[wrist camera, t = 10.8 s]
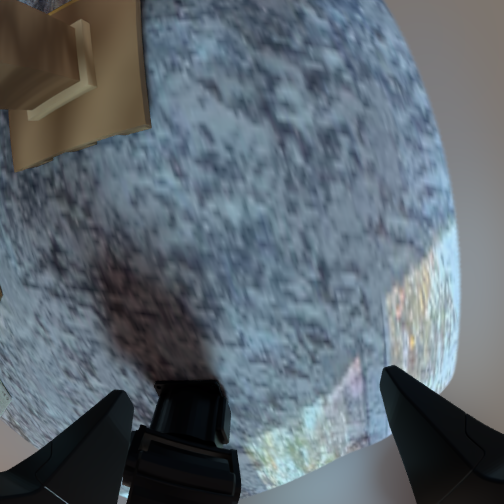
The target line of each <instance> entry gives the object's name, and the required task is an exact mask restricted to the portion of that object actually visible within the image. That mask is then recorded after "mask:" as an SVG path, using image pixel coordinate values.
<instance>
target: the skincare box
mask: <svg viewBox="0 0 504 504" xmlns="http://www.w3.org/2000/svg"><path fill="white" fill-rule="evenodd" d="M11 401H12V398H11V396H10V395H9V394H8V392H7V391H6V389H5V387H4V386H3V384H2V382H1V380H0V417H1V415H2V414H3V412H4V411H5V409H6V408H7V406H8V405H9V403H10V402H11Z"/></svg>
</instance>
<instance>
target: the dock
mask: <svg viewBox="0 0 504 504" xmlns="http://www.w3.org/2000/svg"><path fill="white" fill-rule="evenodd" d="M48 15H50V16H52V17H54V18H56V19H58V20H60V21H62V22H64V23H66V24H68V25H71V24H73V23H75V22H76V21H78V20H80V19H83V20H84V21H86V22H88V23H89V24H90V34H91V43H92V52H93V60H94V67H95V74H96V81H97V88H95V89H93V90H91V91H89V92H87V93H85V94H83V95H81V96H80V97H78V98H76V99H74V100H72V101H70V102H69V103H67V104H65V105H63V106H62V107H60V108H58V109H56V110H55V111H53V112H51V113H50V114H48V115H47V116H45V117H43V118H42V119H40V120H39V121H28V115H27V110H11V109H9V128H10V140H11V149H12V157H13V165H14V171H15V172H19V171H23V170H25V169H29V168H34V167H38V166H40V165H42V164H45V163H47V162H50V161H52V160H53V157H55V156H58V155H60V154H63V153H65V152H74V151H78V150H81V149H84V148H87V147H90V146H93V145H96V144H97V141H99V140H102V139H105V138H108V137H111V136H115V135H128V134H132V133H135V132H139V131H143V130H146V129H150V128H152V127H151V120H150V112H149V104H148V96H147V87H146V78H145V68H144V57H143V44H142V28H141V6H140V0H71V1H70V2H68V3H66V4H64V5H62V6H60V7H59V8H57V9H55V10H53V11H52V12H50V13H48Z"/></svg>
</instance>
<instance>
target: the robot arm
mask: <svg viewBox="0 0 504 504" xmlns="http://www.w3.org/2000/svg"><path fill="white" fill-rule="evenodd" d="M214 385H215V386H214ZM154 388H155V390H156V392H157V394H158V396H159V399H158V402H157V405H156V409H155V412H154V415H153V418H152V421H151V425H150V428H147V426H145V425H142V424H141V425H140V427H139V430H136V431H132V432H131V429H132V421H133V413H134V406H133V404H132V402H131V400H130V398H129V397H128V395H127V393H126V392H125V391H124V390H113V391H112V392H110V393H109V394H108V395H107V396H106V397H104V398H103V399H102V400H101V401H100V402H98V403H97V404H96V405H95V406H93V407H92V408H91V409H90V410H89V411H87V412H86V413H85V414H84V415H82V416H81V417H80V418H79V419H78V420H76V421H75V422H74V423H73V424H71V425H70V426H69V427H68V428H66V429H65V430H64V431H63V432H61V433H60V434H59V435H58V436H57V437H55V438H54V439H53V440H52V441H50V442H49V443H48V444H46V445H45V446H44V447H43V448H41V449H40V450H39V451H37V452H36V453H34V454H33V455H31V456H30V457H28V458H27V459H25V460H24V461H22V462H20V463H19V464H17V465H16V466H14V467H12V468H11V469H9V470H7V471H4V472H0V504H117V500H118V496H119V491H120V486H121V481H122V477H123V481H122V485H125V486H128V487H130V491H129V495H128V500H127V503H126V504H238V501H239V498H240V493H241V477H240V470H239V463H238V455H237V450H233V449H230V450H229V449H224V448H223V444H228V443H229V436H230V421H231V411H230V408H229V405H228V401H227V398H225V397H223V395H222V392H221V389H220V386H219V383H218V382H217V381H215V380H205V381H156V382H155V385H154ZM380 391H381V395H382V398H383V402H384V406H385V410H386V414H387V418H388V422H389V426H390V428H391V431H392V434H393V436H394V439H395V442H396V445H397V447H398V450H399V453H400V455H401V458H402V461H403V464H404V466H405V470H406V472H407V475H408V478H409V481H410V484H411V487H412V490H413V493H414V496H415V499H416V503H417V504H504V434H502V433H500V432H498V431H496V430H494V429H492V428H490V427H488V426H486V425H485V424H483V423H481V422H480V421H478V420H476V419H475V418H473V417H472V416H470V415H469V414H466V413H465V412H464V411H463V410H461V409H460V408H458V407H457V406H455V405H453V404H452V403H451V402H449V401H448V400H446V399H445V398H443V397H442V396H440V395H439V394H437V393H436V392H434V391H433V390H431V389H430V388H428V387H427V386H425V385H424V384H422V383H421V382H419V381H418V380H416V379H415V378H413V377H412V376H411V375H409V374H408V373H406V372H405V371H403V370H402V369H400V368H399V367H397V366H395V365H391V366H388V367H384V368H383V371H382V375H381V380H380Z"/></svg>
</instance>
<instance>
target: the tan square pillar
mask: <svg viewBox="0 0 504 504" xmlns="http://www.w3.org/2000/svg"><path fill="white" fill-rule="evenodd" d="M95 88H97V81H96V74H95V67H94V60H93V52H92V43H91V34H90V24H89V23H88V22H86V21H84V20H83V19H80V20H78V21H76V22H75V23H73V24H71V25H68V24H66V23H64V22H62V21H60V20H58V19H56V18H54V17H52V16H50V15H48V14H46V13H44V12H42V11H39V10H37V9H35V8H33V7H31V6H28V5H26V4H24V3H22V2H19V1H17V0H0V109H11V110H27V115H28V121H39V120H40V119H42V118H43V117H45V116H47V115H48V114H50V113H51V112H53V111H55V110H56V109H58V108H60V107H62V106H63V105H65V104H67V103H69V102H70V101H72V100H74V99H76V98H78V97H80V96H81V95H83V94H85V93H87V92H89V91H91V90H93V89H95Z"/></svg>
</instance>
